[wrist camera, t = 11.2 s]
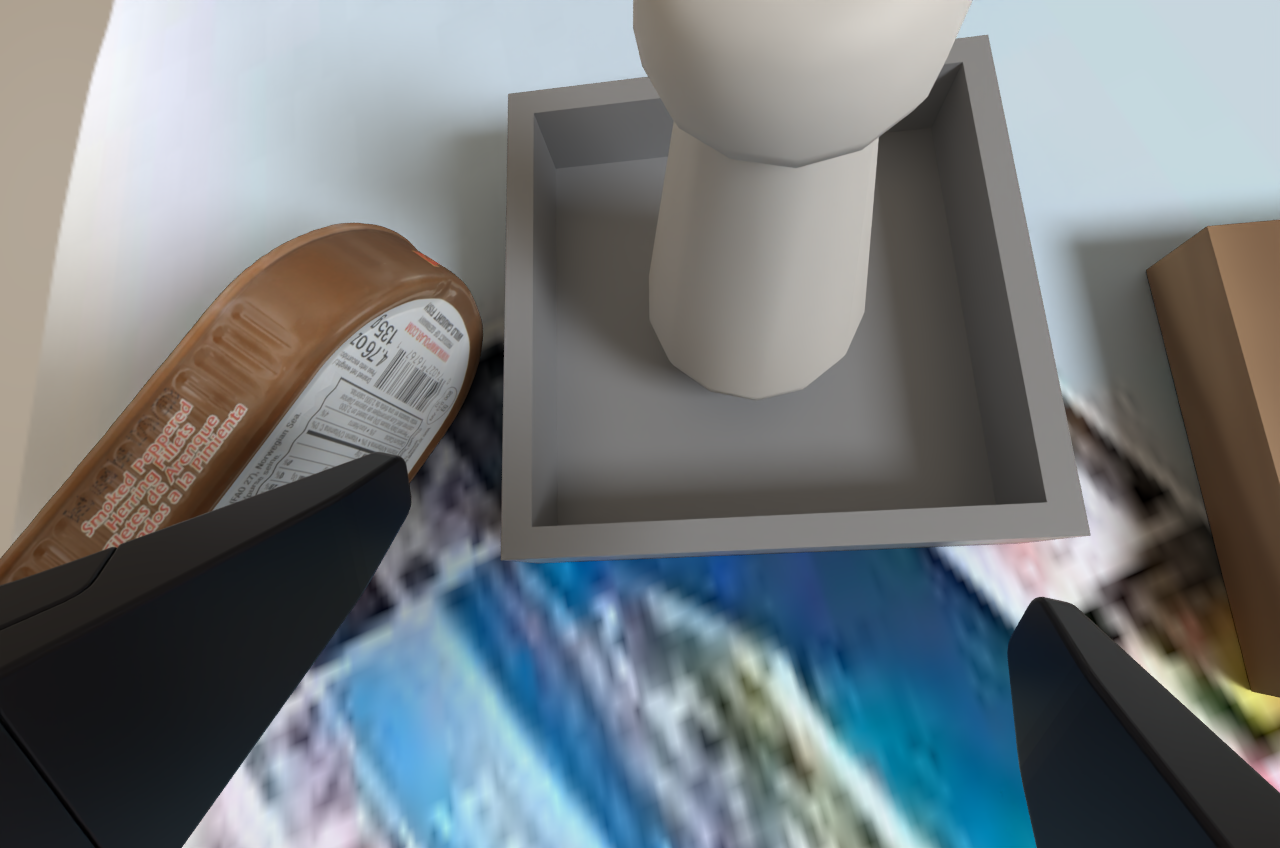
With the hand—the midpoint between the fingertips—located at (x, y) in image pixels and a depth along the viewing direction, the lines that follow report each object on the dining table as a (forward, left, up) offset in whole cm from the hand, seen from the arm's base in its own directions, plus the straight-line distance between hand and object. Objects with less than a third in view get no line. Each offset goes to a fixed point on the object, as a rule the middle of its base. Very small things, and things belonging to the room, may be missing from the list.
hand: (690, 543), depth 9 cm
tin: (-11, +2, -10) cm, 15 cm away
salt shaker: (+2, +7, -10) cm, 12 cm away
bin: (+2, +7, -10) cm, 13 cm away
